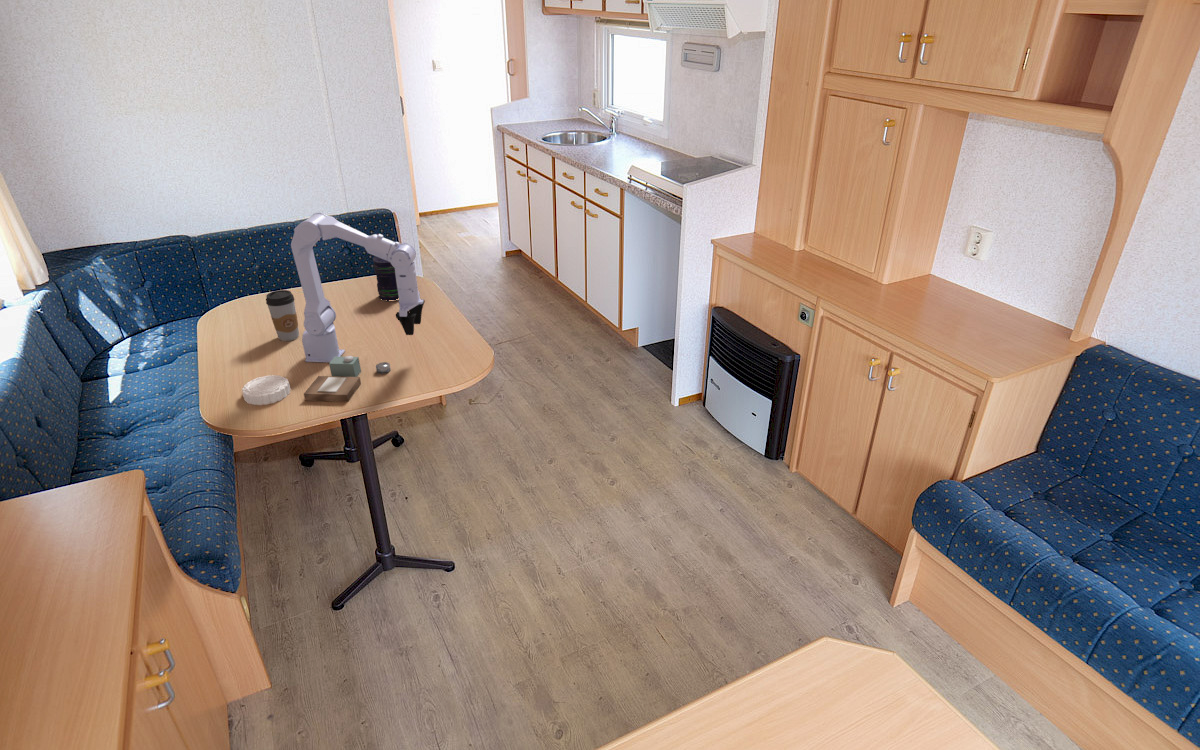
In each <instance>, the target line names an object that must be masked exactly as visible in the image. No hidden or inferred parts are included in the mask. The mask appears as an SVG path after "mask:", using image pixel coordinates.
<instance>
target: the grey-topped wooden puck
mask: <svg viewBox="0 0 1200 750" xmlns="http://www.w3.org/2000/svg"><path fill="white" fill-rule="evenodd" d="M375 370H376V374H379V375H385V374H389V373H390V372H391V364H390V363H389V362H386V361H384V362H383V361H382V362H379V363H377V364H375Z"/></svg>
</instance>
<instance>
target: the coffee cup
mask: <svg viewBox="0 0 1200 750" xmlns="http://www.w3.org/2000/svg"><path fill="white" fill-rule="evenodd" d="M265 296H266V297H265V298H266V299H265V301H266V302H265V304H266V306H267V308H268V311H269V313H270V317H271V321H272V323H273V326H274V329H275V332H276V336H277V337H278V339H279V341H282V342H289V341H290V342H291V341H295V340H296V339H299V335H300V330H299V322H298V314H297V309H296V302H295V296H294V294H293V293H292V291H290V290H287V289H286V290H285V289H280V290H275V291H271V292H269V293H267V294H266V295H265Z"/></svg>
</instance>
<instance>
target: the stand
mask: <svg viewBox="0 0 1200 750" xmlns="http://www.w3.org/2000/svg"><path fill="white" fill-rule="evenodd" d="M361 384H362V382H361V377H360V376H358V377H339V376H332V375H329V376H327V375H318V376H317V377H316V378H315V379H314V381H313V382H312V383H311V384H310V386H309V387H307V390H305V391H304V393H303V396H304V400H305V401H310V402H349V401H350V400H351V399H352V397H353V396H354V394H355V393H356V392H357V390H358V389H359V387H360V386H361Z"/></svg>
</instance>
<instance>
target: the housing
mask: <svg viewBox="0 0 1200 750" xmlns="http://www.w3.org/2000/svg"><path fill="white" fill-rule="evenodd" d="M328 366H329V371H330V374H331V375H330V376H339V377H359V375H360V374H361V373H362V369H361V362H360V358H359V356H353V355H348V356H347V355H346V356H342V355H341V356H335V357H334V358H333V359H332V361H331V362H328Z"/></svg>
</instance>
